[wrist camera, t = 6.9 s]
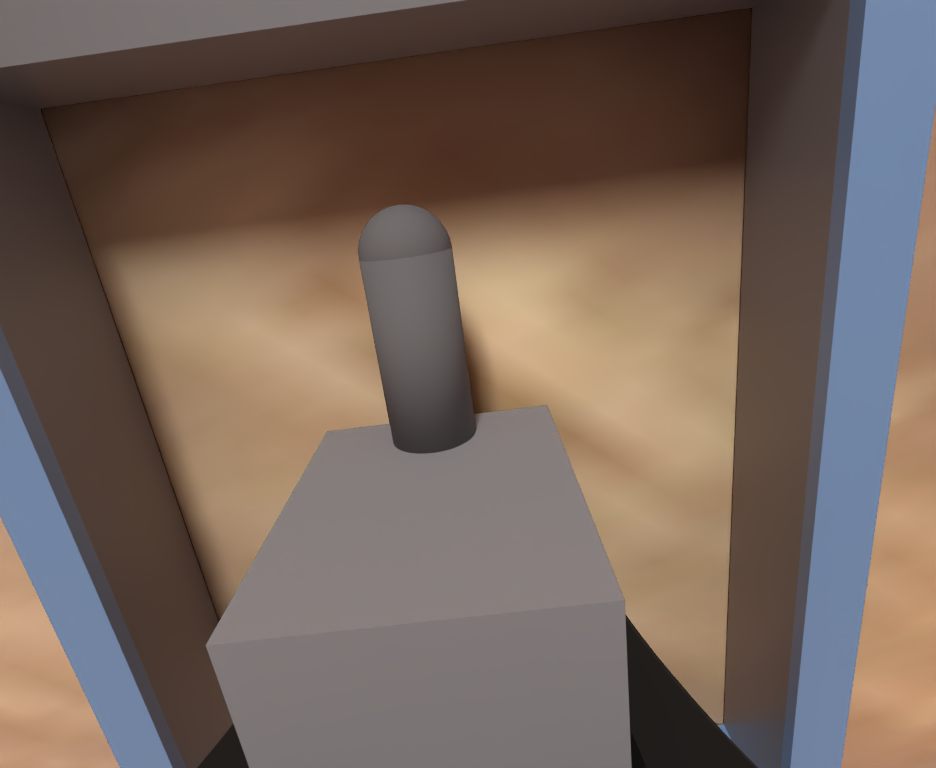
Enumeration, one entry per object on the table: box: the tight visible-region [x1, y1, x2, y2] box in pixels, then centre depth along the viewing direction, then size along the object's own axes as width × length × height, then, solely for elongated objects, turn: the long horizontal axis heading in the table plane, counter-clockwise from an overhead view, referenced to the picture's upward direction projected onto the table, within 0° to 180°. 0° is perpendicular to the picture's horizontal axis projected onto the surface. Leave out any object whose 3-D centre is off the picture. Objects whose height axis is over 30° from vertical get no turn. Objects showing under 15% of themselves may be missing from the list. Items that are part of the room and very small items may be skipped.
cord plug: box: [206, 204, 632, 768], centre depth 8 cm, size 4×11×5 cm, turn 7°
